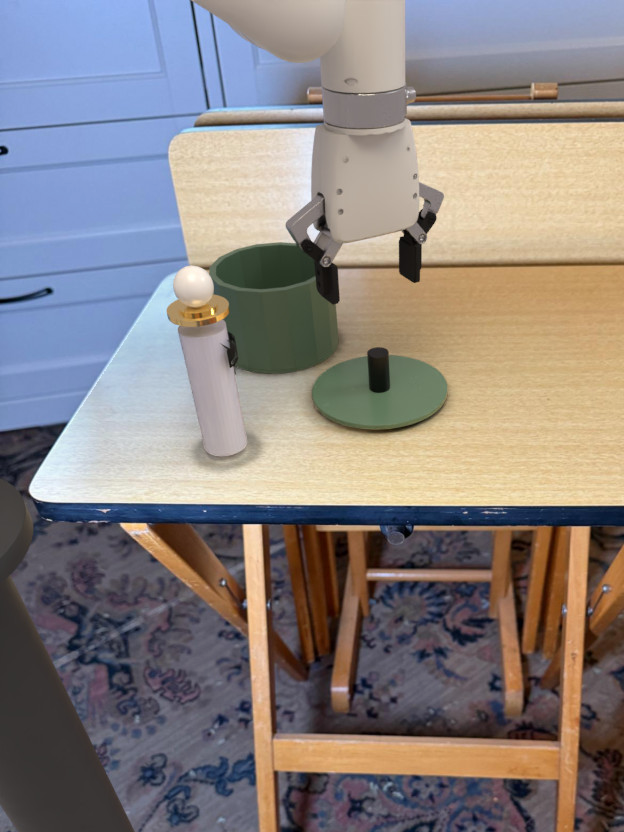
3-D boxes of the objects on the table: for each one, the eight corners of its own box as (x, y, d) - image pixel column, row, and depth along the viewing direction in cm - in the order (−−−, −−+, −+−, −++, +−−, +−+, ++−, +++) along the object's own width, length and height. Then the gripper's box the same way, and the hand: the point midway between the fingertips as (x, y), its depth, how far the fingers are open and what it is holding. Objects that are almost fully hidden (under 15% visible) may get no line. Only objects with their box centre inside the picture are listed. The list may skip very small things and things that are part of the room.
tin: (252, 385, 95) (238, 302, 88) (207, 338, 104) (191, 260, 97) (358, 352, 100) (353, 271, 93) (306, 309, 110) (298, 233, 103)
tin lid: (354, 450, 84) (351, 404, 80) (289, 387, 94) (284, 343, 90) (474, 406, 90) (476, 360, 86) (401, 351, 100) (400, 308, 96)
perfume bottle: (200, 469, 82) (156, 283, 69) (198, 438, 86) (157, 258, 73) (256, 461, 83) (223, 276, 70) (252, 431, 87) (220, 251, 74)
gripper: (421, 88, 78) (420, 259, 89) (259, 112, 71) (280, 295, 82) (466, 103, 73) (458, 282, 84) (296, 130, 66) (313, 322, 77)
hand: (370, 288), depth 83 cm, fingers open, 9 cm apart
